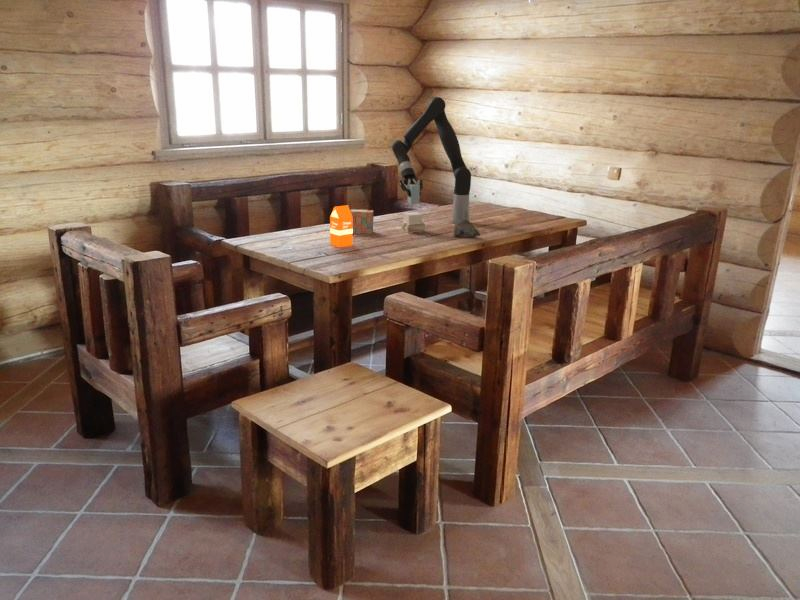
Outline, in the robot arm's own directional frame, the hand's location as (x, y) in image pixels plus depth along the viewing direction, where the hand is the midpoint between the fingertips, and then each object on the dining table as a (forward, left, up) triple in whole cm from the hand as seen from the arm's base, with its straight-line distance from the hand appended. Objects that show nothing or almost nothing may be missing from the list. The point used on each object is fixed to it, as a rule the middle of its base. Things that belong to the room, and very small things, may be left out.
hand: (415, 196), depth 377 cm
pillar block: (+1, -1, -4) cm, 5 cm away
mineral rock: (-31, +3, -20) cm, 37 cm away
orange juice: (+25, +46, -20) cm, 56 cm away
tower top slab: (+1, -1, -15) cm, 15 cm away
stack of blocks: (+30, +15, -20) cm, 40 cm away
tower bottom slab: (+1, -1, -20) cm, 20 cm away
